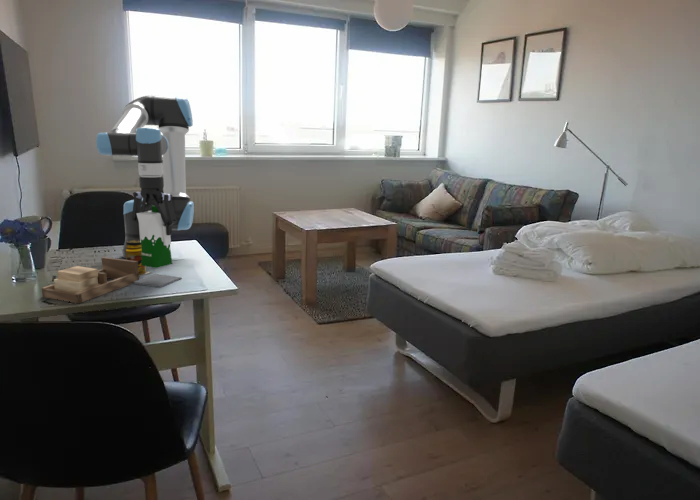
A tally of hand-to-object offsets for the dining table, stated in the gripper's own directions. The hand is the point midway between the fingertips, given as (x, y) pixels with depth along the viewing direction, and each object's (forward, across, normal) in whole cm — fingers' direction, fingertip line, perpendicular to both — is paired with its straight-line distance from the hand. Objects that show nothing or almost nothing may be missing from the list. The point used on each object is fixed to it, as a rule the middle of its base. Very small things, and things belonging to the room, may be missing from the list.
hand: (155, 243), depth 172 cm
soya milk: (+8, 0, 0) cm, 8 cm away
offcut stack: (+14, -13, -21) cm, 28 cm away
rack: (+13, -13, -15) cm, 24 cm away
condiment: (+14, -14, +5) cm, 20 cm away
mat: (+13, 0, 0) cm, 13 cm away
